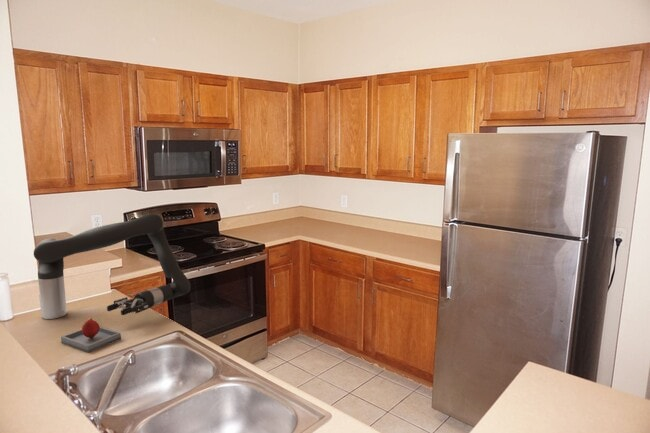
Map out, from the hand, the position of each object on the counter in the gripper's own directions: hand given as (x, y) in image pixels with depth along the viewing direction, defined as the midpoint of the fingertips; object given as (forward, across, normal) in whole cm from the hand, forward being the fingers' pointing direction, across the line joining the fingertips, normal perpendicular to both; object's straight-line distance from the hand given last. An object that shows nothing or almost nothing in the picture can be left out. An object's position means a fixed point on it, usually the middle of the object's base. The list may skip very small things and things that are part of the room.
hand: (114, 310), depth 170 cm
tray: (+10, 0, +8) cm, 13 cm away
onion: (+10, 0, +8) cm, 13 cm away
